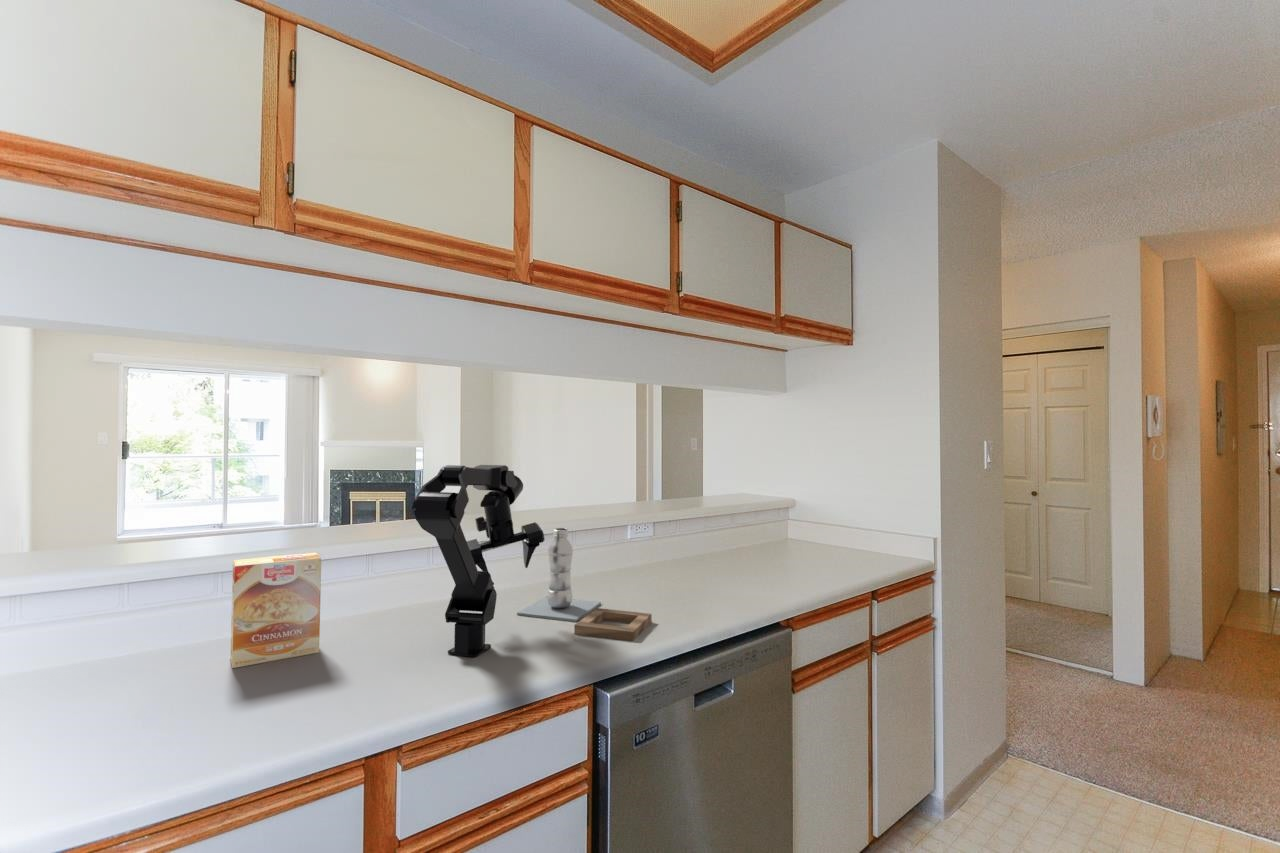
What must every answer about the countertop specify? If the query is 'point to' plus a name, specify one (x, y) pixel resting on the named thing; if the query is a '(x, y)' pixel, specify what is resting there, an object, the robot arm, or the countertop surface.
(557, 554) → the plastic bottle
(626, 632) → the pocket frame
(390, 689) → the countertop surface
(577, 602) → the mat
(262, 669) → the countertop surface
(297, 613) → the coffeecake box
